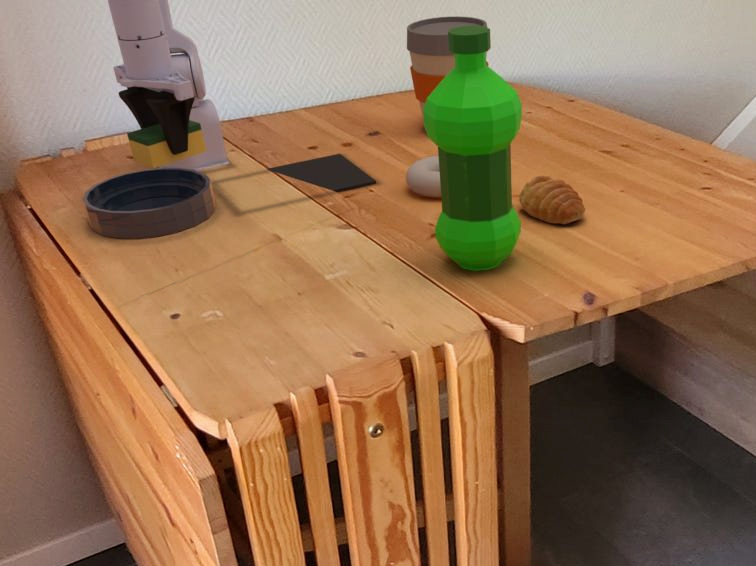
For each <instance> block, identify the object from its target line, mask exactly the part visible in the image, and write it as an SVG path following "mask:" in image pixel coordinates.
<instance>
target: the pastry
mask: <svg viewBox="0 0 756 566" xmlns="http://www.w3.org/2000/svg"><path fill="white" fill-rule="evenodd" d="M518 200H519V204H520V205H521V208H522V209H523V211H524V212H526V213H527V214H528V215H529V216H531V217H533V218H535V219H536V218H537V219H539V220H541V222H543V221H544V222H545V223H548V224H561V225H566V224H571V223H572V222H575V221H578V220H581V219H582V218H583V216H584V214H585V212H586V207H585V205H584V203H583V199H582V198H581V196H579V193H578V191H576V190H575V189H574V188H573V186H572V185H570V184H569V183H566V182H565V181H564V180H563V179H553V178H552V177H551V176H547V175H538V176H535V177H533V178H532V179H531V180H530V181H528V182H526V184H525V185H524V186H523V187H522V190H521V191H520V194H519V198H518Z"/></svg>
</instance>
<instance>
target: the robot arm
mask: <svg viewBox="0 0 756 566" xmlns="http://www.w3.org/2000/svg"><path fill="white" fill-rule="evenodd" d="M107 3H108V7H109V11H110V14H111V15H110V16H111V19H112V22H113V26H114V31H115V35H116V38H117V43H118V46H119V49H120V54H121V58H122V62H123V64H119V65H115V66H113V67H112V68H113V71H114V76H115V79H116V83H118V84H119V85H120V86H121V87H124V88H126V89H123V90H120V91H118V97H119V98H120V100H122V102H123V103H124V104H125V105H126V106H127V108H128V109H129V111H130V112H131V113H132V115H133V117H134V118H135V120H136V122H137V124H138V126H139V127H140V129H143V128H146V127H149V126H153V125H156V124H159V123H160V125H161V127H162V130H163V133H164V136H165V139H166V142H167V144H168V147H169V149H170V151H171V153H172V154H174V155H176V154H179V153H183V152H186V151H188V127H189V120H191V121H194V122H197V123H200V125H201V130H202V134H203V139H204V143H205V148H206V152H203V153H200V154H197V155H194V156H190V157H187V158H184V159H181V160H178V161H175V162H172V163H169V164H166V165H163V166H160V167H158V168H184V169H191V170H196V171H200V170H206V169H211V168H214V167H220V166H224V165H229V164H230V162H229V159H228V154H227V150H226V144H225V140H224V134H223V130H222V124H221V119H220V117H219V114H218V110H217V108H216V106H215V104H214V102H213V100H211V99H209V98H208V99H205V97H206V95H207V90H206V83H205V77H204V71H203V67H202V63H201V59H200V56H199V52H198V47H197V45H196V43H194V41H193V39H191V38H190V37H189V36H188V35H185V34H184V33H183V32H182V31H181V32H180V31H179V30H178V29H176V28H174V26H173V20H172V16H171V15H172V14H171V10H170V5H169V0H107Z"/></svg>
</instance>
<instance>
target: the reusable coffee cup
mask: <svg viewBox="0 0 756 566" xmlns="http://www.w3.org/2000/svg"><path fill="white" fill-rule="evenodd" d="M460 26H485V27H487V28H488V24H487V22H486V20H485V19H481V18H478V17H471V16H457V15H456V16H439V17H438V16H437V17H430V18H425V19H420V20H417V21H413V22H412V23H410V24H408V26H407V27H406V50H407V51H409V56H410V61H411V66H410V67H409V70H410V75H411V81H412V84H413V90H414V95H415V99H416V100H417V101H418V102H419V107H420V111H421V117H422V122H423V123H424V116H423V110H424V107H425V103H426V99H427V98H428V96H429V95H430V94H431V93H432V92H433V91H434V89H435V88H436V87H437V86H438V85H439V83H440V82H441V81H442V80H443V79H444V78H445V77H446V76H447V75H448V74H449V73H450V72H451V71H452V70H453V68H454V67H455V54H454V53H452V52H450V51H449V41H448V31H449V30H450V29H452V28H456V27H460ZM487 53H488V51H486V56H488V55H487ZM486 65H487V66H488V67H489V62H488V61H487V60H486ZM423 128H424V131H425V132H426V129H425V125H424V124H423Z"/></svg>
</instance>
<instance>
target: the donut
mask: <svg viewBox="0 0 756 566" xmlns="http://www.w3.org/2000/svg"><path fill="white" fill-rule="evenodd" d="M405 182H406V184H407V186H408V187H409V188H410V191H412V192H414V193H415V194H418V195H420V196H422V197H426V198H427V197H428V198H435V199H436V198H437V199H439V198H440V199H441V185H440V171H439V156H438V155H431V156H426V157H423V158H421V159H419V160H416V161H415V162H412V164H411V165H410V166H408V169H407V171H406V175H405Z"/></svg>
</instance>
